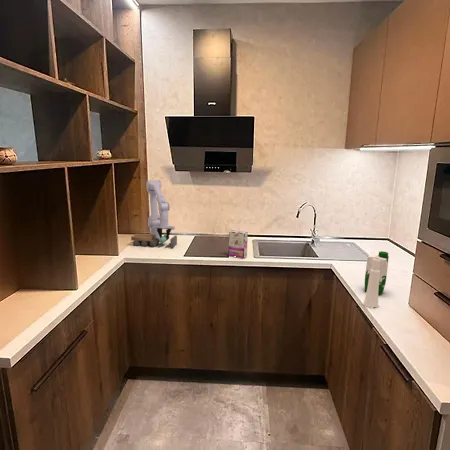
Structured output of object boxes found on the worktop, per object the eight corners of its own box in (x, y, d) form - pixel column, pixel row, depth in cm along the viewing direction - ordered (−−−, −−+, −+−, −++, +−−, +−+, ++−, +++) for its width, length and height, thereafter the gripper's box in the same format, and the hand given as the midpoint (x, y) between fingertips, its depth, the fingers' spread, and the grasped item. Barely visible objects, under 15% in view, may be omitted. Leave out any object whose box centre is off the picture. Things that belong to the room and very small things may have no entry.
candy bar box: (247, 257, 210) (248, 231, 207) (244, 259, 206) (244, 233, 202) (231, 254, 215) (232, 229, 212) (228, 256, 211) (228, 231, 208)
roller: (165, 241, 225) (163, 236, 225) (161, 244, 226) (158, 239, 226) (170, 238, 235) (167, 233, 235) (165, 240, 236) (162, 235, 235)
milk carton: (382, 297, 153) (387, 255, 149) (361, 292, 158) (366, 252, 154) (385, 291, 160) (390, 251, 156) (365, 286, 165) (370, 248, 161)
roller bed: (138, 242, 239) (138, 237, 238) (170, 244, 236) (170, 238, 235) (132, 245, 229) (132, 240, 228) (166, 247, 226) (166, 242, 225)
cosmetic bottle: (375, 309, 140) (381, 259, 136) (361, 304, 144) (366, 256, 140) (380, 305, 144) (386, 257, 140) (366, 300, 149) (372, 253, 144)
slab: (136, 236, 238) (136, 233, 238) (155, 238, 236) (155, 234, 236) (131, 240, 228) (131, 236, 228) (150, 241, 227) (150, 237, 226)
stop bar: (174, 244, 236) (174, 235, 235) (176, 244, 236) (176, 235, 235) (170, 248, 225) (170, 239, 224) (172, 248, 225) (172, 239, 224)
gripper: (151, 220, 225) (152, 240, 227) (172, 221, 223) (172, 241, 226) (155, 218, 232) (155, 237, 234) (175, 219, 230) (175, 238, 232)
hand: (164, 239), depth 230 cm, fingers closed on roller, 4 cm apart
